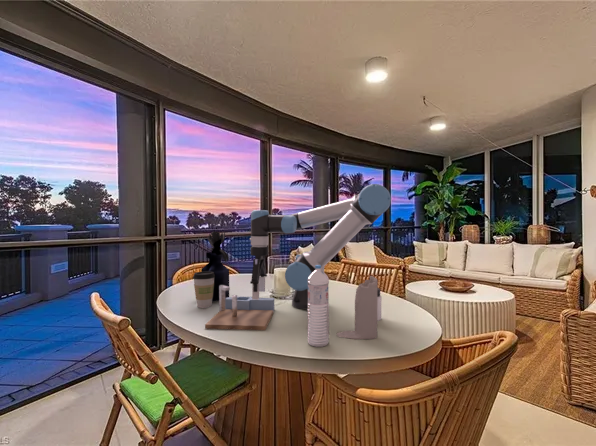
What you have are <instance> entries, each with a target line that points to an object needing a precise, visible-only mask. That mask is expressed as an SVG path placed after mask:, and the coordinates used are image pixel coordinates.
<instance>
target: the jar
mask: <svg viewBox="0 0 596 446" xmlns="http://www.w3.org/2000/svg"><path fill="white" fill-rule="evenodd" d="M377 301H378V308H377V322H379V321H382V296H381V288H379V287H377Z"/></svg>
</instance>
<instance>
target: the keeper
mask: <svg viewBox="0 0 596 446" xmlns="http://www.w3.org/2000/svg"><path fill="white" fill-rule="evenodd" d="M230 288H231V287H230V286H229V287H228V286H225V285H220V286H219V301H218V302H219V303H218V304H219V309H218V310H219V311H224V310H225V291H228V290H229V291H231V289H230ZM219 311H218V312H219Z"/></svg>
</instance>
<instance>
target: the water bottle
mask: <svg viewBox="0 0 596 446" xmlns="http://www.w3.org/2000/svg"><path fill="white" fill-rule="evenodd" d="M315 269H316V270H315V271H313V272H312V273H311V274H310V275H309V277H308V279H307V280H308V281H307V283H308V303H307V305H308V306H307V308H308V309H306V310H307V344H309V346H311V347H316V348H323V347H326V346H328V344H329V340H330V321H329V320H330V303H329V300H330V299H329V283H330V278H329V277H328V274H326V273H325V271H324V272H323V271H322V270H321V265H315Z"/></svg>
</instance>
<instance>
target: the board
mask: <svg viewBox="0 0 596 446" xmlns="http://www.w3.org/2000/svg"><path fill="white" fill-rule="evenodd" d="M273 316H274V311H273V310H237V316H236V317H232V309H225V310H224V311H218V312H217V313H216V314H214V316H213V317H211V318H210V319H209V320H208V321H207V322H206V323H205V324H204V329H205V330H206V329H207V330H209V329H210V330H244V331H245V330H247V331H248V330H249V331H266V329H267V327H268V325H269V323H270V321H271V319H272V317H273Z"/></svg>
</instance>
